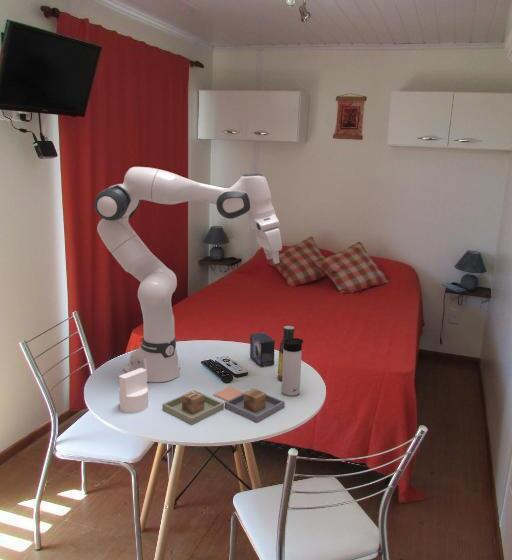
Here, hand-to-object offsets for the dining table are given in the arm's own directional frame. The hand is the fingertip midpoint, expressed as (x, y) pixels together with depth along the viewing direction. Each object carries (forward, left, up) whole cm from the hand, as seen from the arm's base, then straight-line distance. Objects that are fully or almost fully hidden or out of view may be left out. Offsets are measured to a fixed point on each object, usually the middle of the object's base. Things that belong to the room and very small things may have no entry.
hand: (273, 260), depth 177 cm
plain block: (+8, -17, -45) cm, 49 cm away
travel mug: (+10, 0, -46) cm, 47 cm away
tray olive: (-6, -32, -46) cm, 56 cm away
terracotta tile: (-4, -16, -46) cm, 49 cm away
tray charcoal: (+8, -17, -46) cm, 49 cm away
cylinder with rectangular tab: (-21, -43, -46) cm, 66 cm away
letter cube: (-6, -32, -45) cm, 55 cm away
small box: (-16, +15, -46) cm, 51 cm away
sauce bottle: (+1, +9, -46) cm, 47 cm away
